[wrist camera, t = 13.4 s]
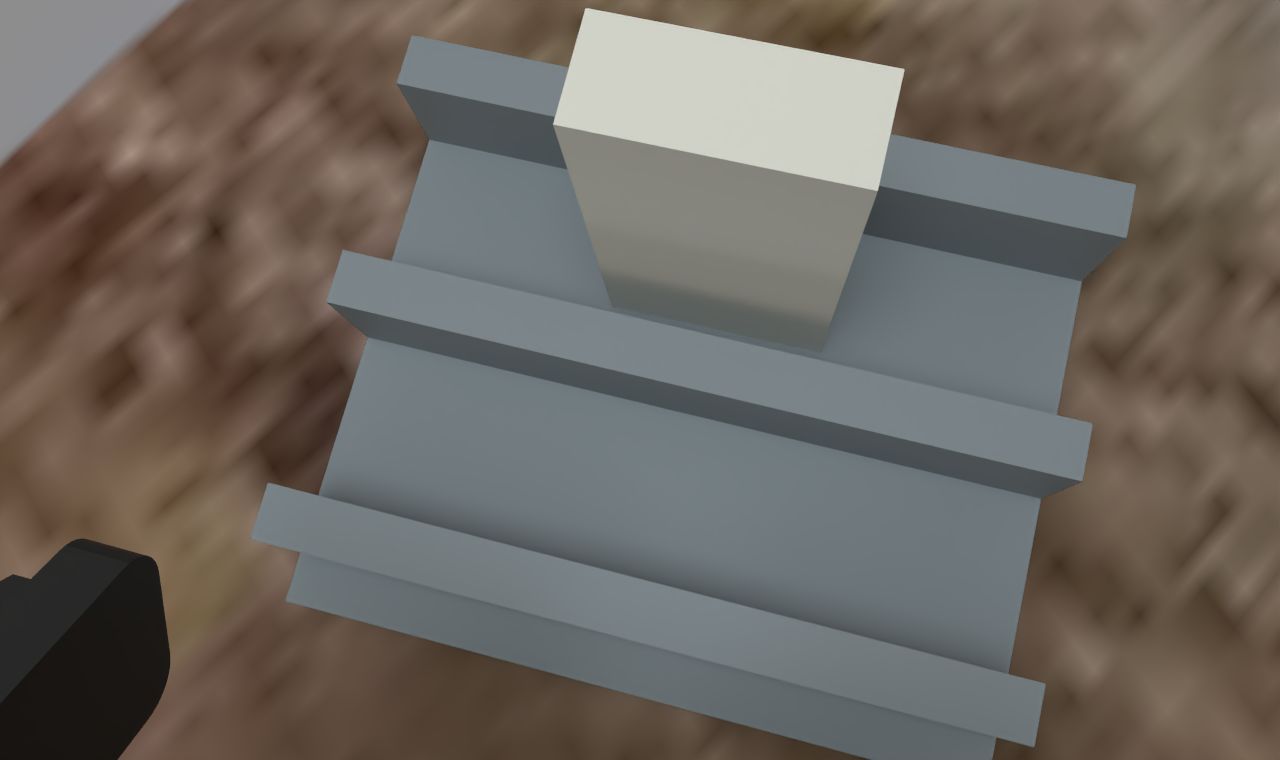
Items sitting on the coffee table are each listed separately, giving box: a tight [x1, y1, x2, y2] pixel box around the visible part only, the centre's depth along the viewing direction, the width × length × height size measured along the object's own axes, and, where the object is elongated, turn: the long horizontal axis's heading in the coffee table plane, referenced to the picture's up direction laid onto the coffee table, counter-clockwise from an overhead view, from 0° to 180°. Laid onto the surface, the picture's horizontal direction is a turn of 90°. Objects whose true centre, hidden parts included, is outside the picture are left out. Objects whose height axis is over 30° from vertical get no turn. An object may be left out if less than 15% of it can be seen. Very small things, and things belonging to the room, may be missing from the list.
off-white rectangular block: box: [553, 8, 905, 352], centre depth 22 cm, size 5×2×10 cm, turn 76°
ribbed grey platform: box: [250, 35, 1136, 760], centre depth 26 cm, size 16×14×4 cm
